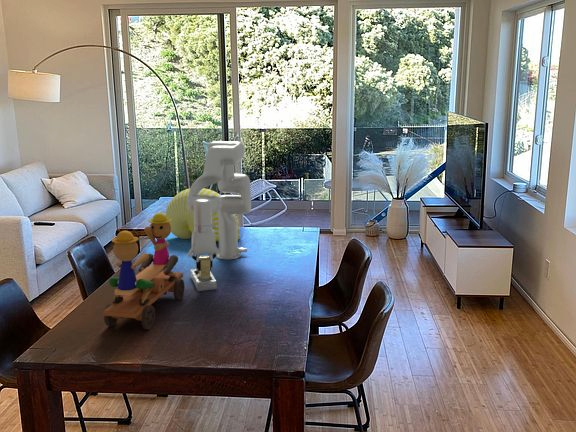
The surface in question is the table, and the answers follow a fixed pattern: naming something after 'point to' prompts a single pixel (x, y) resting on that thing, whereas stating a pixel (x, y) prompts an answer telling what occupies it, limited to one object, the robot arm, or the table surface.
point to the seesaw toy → (143, 275)
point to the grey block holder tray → (203, 281)
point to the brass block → (204, 267)
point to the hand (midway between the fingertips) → (204, 269)
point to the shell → (189, 215)
